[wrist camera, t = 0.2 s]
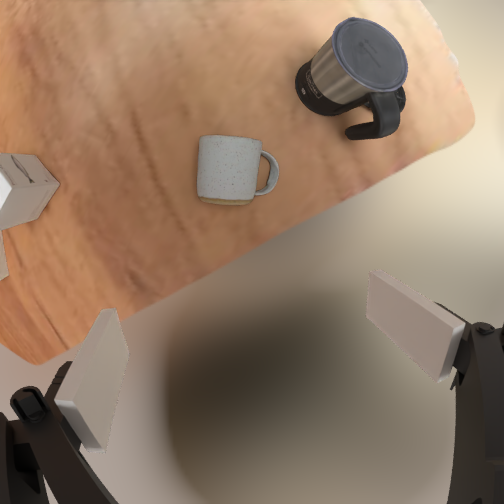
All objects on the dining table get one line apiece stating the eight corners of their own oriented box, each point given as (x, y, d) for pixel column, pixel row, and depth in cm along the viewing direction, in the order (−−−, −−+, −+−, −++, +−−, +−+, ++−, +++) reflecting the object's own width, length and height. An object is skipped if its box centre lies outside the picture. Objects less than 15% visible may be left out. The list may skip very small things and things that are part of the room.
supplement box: (62, 183, 36) (13, 189, 24) (37, 220, 36) (-12, 237, 24) (36, 153, 34) (-15, 150, 22) (13, 189, 35) (-38, 198, 22)
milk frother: (280, 78, 36) (314, 35, 22) (352, 34, 35) (399, -6, 21) (343, 154, 40) (401, 148, 26) (405, 102, 39) (466, 86, 25)
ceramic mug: (197, 199, 39) (194, 204, 32) (200, 139, 37) (199, 131, 30) (274, 203, 41) (288, 209, 34) (278, 145, 39) (293, 138, 32)
